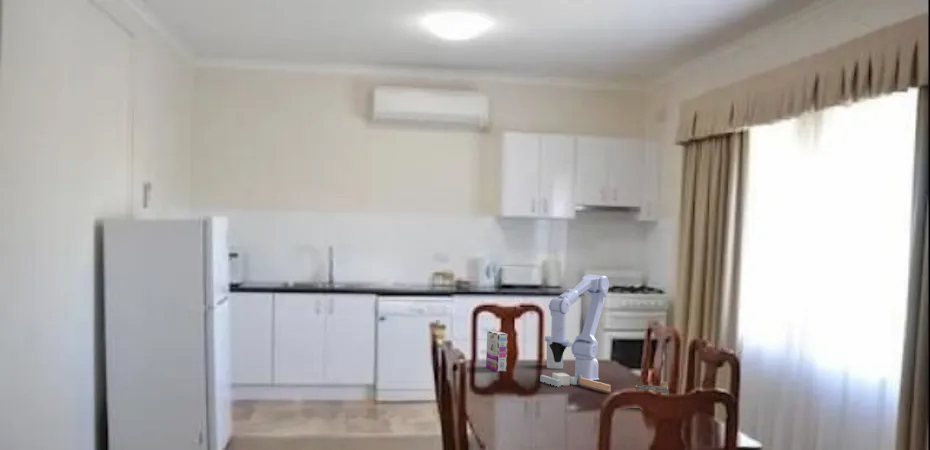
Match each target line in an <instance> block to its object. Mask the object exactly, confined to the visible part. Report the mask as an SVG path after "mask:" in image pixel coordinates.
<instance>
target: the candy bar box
mask: <svg viewBox="0 0 930 450" xmlns="http://www.w3.org/2000/svg"><path fill="white" fill-rule="evenodd" d="M486 333H487V334H486V354H485V355H486V359H485V367H486V369H489V370H492V371H494V372H497V373H501V372H502V373H503V372H507V368H508V367H507V365H508V343H509V342H508V338H509V334H508V333H505V332H502V331H499V330H487V332H486Z"/></svg>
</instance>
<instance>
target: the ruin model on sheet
mask: <svg viewBox="0 0 930 450" xmlns="http://www.w3.org/2000/svg"><path fill="white" fill-rule="evenodd" d="M639 389H648V390H653V391H657V392H661V393H667V394H668V395H669V387H668V381H662V380H661V382H660V386H659V385H658V386H655V385H641V386H637V384H636V385H635V391H636V390H639Z"/></svg>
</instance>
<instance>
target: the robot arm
mask: <svg viewBox="0 0 930 450" xmlns="http://www.w3.org/2000/svg"><path fill="white" fill-rule="evenodd" d="M610 285H611V284H610V281H609V279H608V276H607V275H596V274H589V273H588V274H587V273H586V274H585V275H584V276H583V277H581V281H580V282H579V283H578V284H577V285H575V287H574V288H566V290H565V291H564V292H563V293H561V294H560V295H559V296H558V297H554V298H552V299H551V300H550V301H549V304H548V309H549V311H550V316H551V326H550V327H551V329H550V330H551V331H550V332H551V334H550V335H551V336H549V335H547V336H544V342H547V341H548V342H552V344H550V345H549V346H550V348H551V350H552V352H553V356H554V361H555V362H561V358H562V355H563V356H564V353H565V350H566V349H567V348H571V349H570V350H571V353H572V354H573V357H574V359H575V361H574V362H575V363H574V364H575V365H574V375H573V377H574V378H577V381H578V375H582V378H585V379H589V380H593V381H599V380H600V378H599V361H598V359H597V358H596V356H597V354H598V352H599V351H598V348H599V347H598V346H599V342H598V340H597V339H596V337H595V336H596V332H597V329H598V325H599V321H600V318H601V314H602V310H603V308H604V304H605V300H606V298H607V295H608V291H609V288H610ZM585 292H586V293H587V295H589V296H590V298H591V301H590V303H589V307H588V310H587V314H586V318H585V320H584V325H583V327H582V332H581V333H580V334H578V335H577V336H576V337H575V339H574V341H570V340H569V339H566V335H567V334H566V330H567V327H566V326H567V313H568V312H569V311H570V308H571V307H572V305H573V304H575V303H577V301H578V300H579V297H580V295H582V294H584V293H585Z"/></svg>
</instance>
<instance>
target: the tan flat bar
mask: <svg viewBox="0 0 930 450" xmlns="http://www.w3.org/2000/svg"><path fill="white" fill-rule="evenodd" d="M577 385H579V386H582V385H583V386H587V387H590V388H593V389H596V390H597V389H598V390H600V391H605V392H611V391H612V389H611V388H612V387H611V386H612V385H611V384H609V383H604V382H601V381H598V380H589V379H585V378H582V375H578V380H577Z"/></svg>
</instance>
